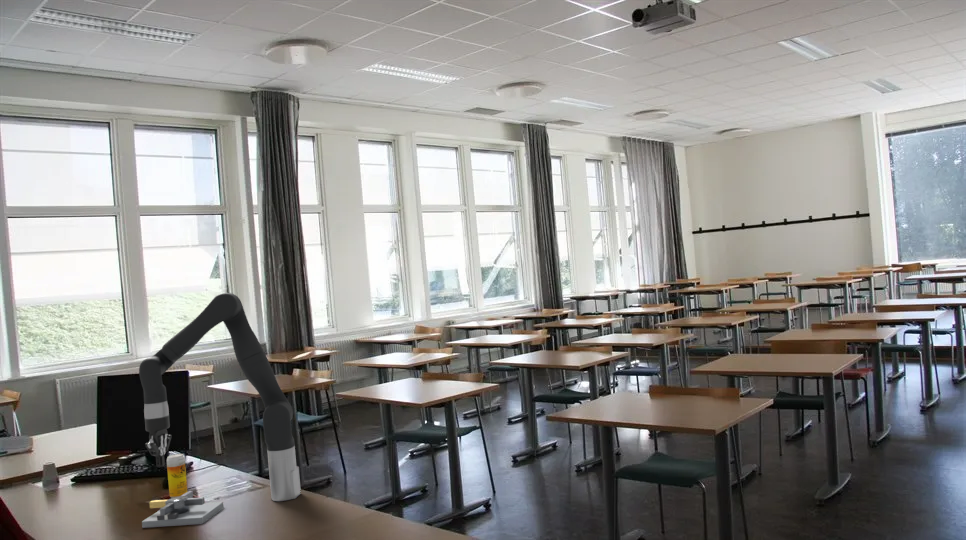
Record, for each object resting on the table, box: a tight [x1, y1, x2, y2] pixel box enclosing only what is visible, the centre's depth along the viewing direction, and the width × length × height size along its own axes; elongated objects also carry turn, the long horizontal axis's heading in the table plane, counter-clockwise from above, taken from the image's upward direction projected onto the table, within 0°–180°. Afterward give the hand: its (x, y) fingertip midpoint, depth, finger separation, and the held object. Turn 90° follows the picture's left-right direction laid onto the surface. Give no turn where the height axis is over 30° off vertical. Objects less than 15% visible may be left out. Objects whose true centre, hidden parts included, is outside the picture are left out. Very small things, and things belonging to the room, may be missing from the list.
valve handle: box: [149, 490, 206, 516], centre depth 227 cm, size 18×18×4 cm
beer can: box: [166, 453, 189, 499], centre depth 252 cm, size 6×6×15 cm
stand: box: [141, 501, 225, 529], centre depth 227 cm, size 20×15×3 cm
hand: (160, 466), depth 234 cm, fingers closed
